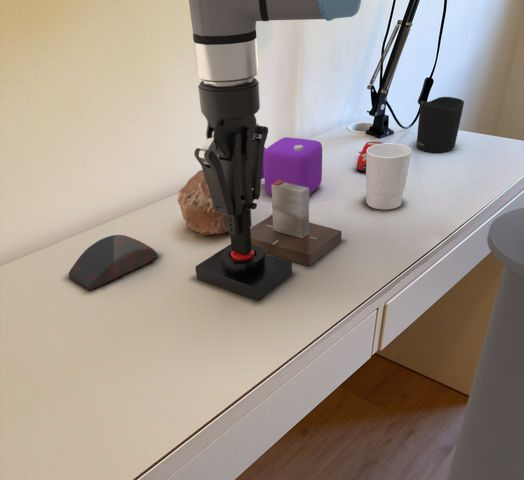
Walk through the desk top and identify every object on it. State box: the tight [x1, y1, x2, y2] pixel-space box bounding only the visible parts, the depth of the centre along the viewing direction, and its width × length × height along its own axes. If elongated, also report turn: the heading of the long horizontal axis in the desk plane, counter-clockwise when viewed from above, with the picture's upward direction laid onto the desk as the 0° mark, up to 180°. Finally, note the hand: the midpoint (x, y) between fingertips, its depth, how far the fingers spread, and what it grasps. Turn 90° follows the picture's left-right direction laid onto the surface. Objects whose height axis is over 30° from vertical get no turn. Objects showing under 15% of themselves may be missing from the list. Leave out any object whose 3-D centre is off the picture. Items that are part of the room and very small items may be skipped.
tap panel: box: [250, 213, 343, 267], centre depth 90 cm, size 14×10×2 cm
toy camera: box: [261, 136, 323, 196], centre depth 106 cm, size 11×14×10 cm
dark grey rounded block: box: [67, 234, 158, 291], centre depth 85 cm, size 8×14×4 cm, turn 136°
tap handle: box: [271, 180, 310, 239], centre depth 86 cm, size 6×2×8 cm, turn 53°
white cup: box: [365, 142, 412, 211], centre depth 98 cm, size 8×8×10 cm
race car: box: [356, 141, 384, 172], centre depth 117 cm, size 13×5×4 cm, turn 162°
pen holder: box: [416, 96, 465, 154], centre depth 122 cm, size 9×9×10 cm
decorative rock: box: [177, 169, 228, 236], centre depth 94 cm, size 13×11×10 cm
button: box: [231, 249, 255, 261], centre depth 80 cm, size 4×4×2 cm
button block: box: [194, 243, 293, 302], centre depth 81 cm, size 12×9×4 cm
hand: (241, 250), depth 80 cm, fingers closed
